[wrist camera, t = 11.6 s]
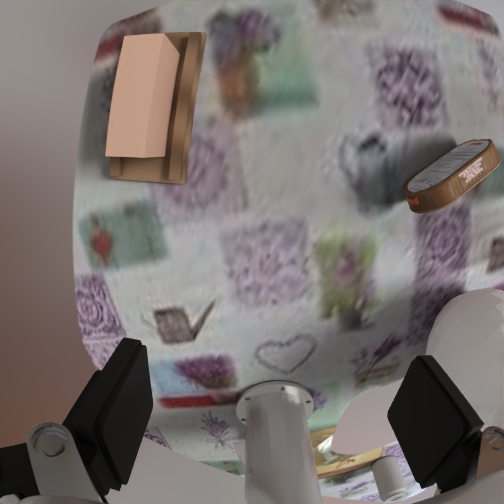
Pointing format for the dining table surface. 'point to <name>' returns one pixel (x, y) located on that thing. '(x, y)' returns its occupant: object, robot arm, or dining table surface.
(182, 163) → the rack
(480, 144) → the tin
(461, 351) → the white vase
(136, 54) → the block
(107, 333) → the dining table surface
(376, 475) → the beverage can
